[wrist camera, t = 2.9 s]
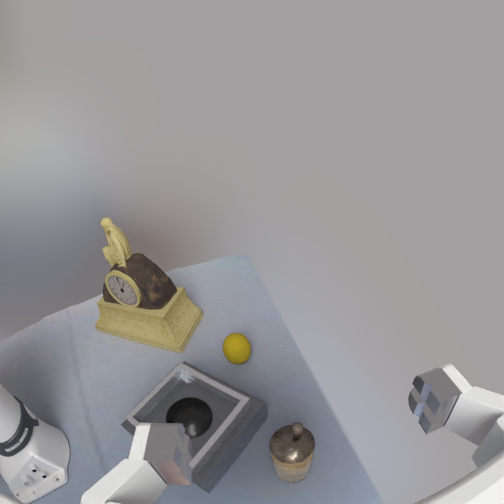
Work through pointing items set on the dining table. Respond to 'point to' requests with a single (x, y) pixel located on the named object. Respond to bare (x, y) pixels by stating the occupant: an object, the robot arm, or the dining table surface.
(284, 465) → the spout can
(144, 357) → the dining table surface
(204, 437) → the housing
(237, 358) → the lemon
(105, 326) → the decorative clock
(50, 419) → the dining table surface
